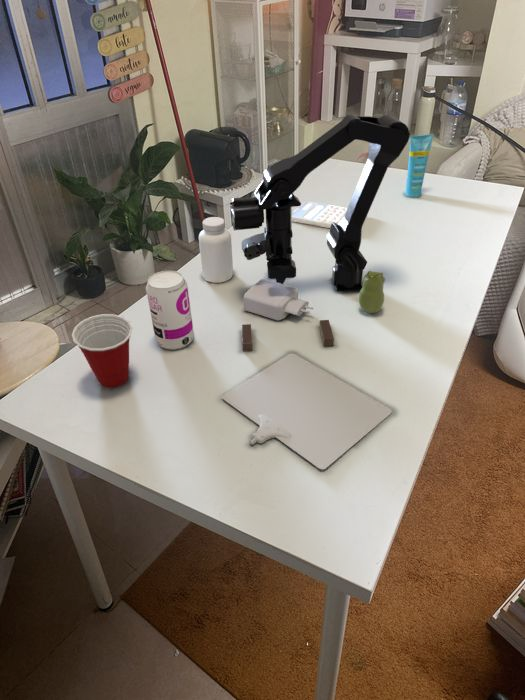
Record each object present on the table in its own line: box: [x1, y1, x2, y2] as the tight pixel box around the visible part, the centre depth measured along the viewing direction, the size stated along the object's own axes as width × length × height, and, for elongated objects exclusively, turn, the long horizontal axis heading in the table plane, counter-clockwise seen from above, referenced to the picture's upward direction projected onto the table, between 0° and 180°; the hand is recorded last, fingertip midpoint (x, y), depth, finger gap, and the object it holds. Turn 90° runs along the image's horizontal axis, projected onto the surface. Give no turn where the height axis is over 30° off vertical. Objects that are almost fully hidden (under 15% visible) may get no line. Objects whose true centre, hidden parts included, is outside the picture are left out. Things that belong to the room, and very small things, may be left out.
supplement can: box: [145, 270, 195, 351], centre depth 110 cm, size 8×8×15 cm
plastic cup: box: [71, 313, 134, 389], centre depth 101 cm, size 11×11×12 cm
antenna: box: [221, 352, 393, 470], centre depth 96 cm, size 25×24×1 cm
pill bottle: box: [198, 216, 234, 284], centre depth 131 cm, size 8×8×15 cm
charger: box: [243, 278, 314, 321], centre depth 121 cm, size 5×9×15 cm
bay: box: [241, 319, 335, 352], centre depth 113 cm, size 19×7×2 cm, turn 93°
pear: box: [358, 270, 386, 314], centre depth 118 cm, size 6×5×10 cm
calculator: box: [292, 201, 348, 229], centre depth 162 cm, size 13×20×2 cm, turn 62°
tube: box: [404, 133, 435, 198], centre depth 169 cm, size 7×5×19 cm, turn 104°
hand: (279, 285), depth 127 cm, fingers closed
